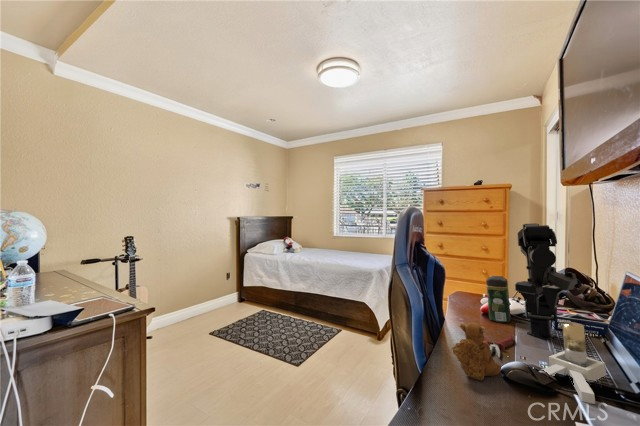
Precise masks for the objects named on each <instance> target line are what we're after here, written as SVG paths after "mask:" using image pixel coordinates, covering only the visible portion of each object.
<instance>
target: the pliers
mask: <svg viewBox="0 0 640 426" xmlns="http://www.w3.org/2000/svg"><path fill="white" fill-rule="evenodd" d="M484 341H487V342H488V344H489V346H490V350H491V355H493V353H494V352H495V354H496V356H497V357H498V358H499V359H500V358H501V351H502V352H505V350H506V349H505V348H507V347H510V346H513V344H514V341H515V340H514V339H513V335H511V334H510V333H508V334H507V338H504V339H502V340H499V341H496V342H493V341H492V340H490V339H488V338H487V337H485V336H484Z"/></svg>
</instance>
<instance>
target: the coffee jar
mask: <svg viewBox="0 0 640 426" xmlns="http://www.w3.org/2000/svg"><path fill="white" fill-rule="evenodd" d="M485 282H486V294H487V295H486V297H487V307H488V318H489V320H491V321H494V322H496V323H510V321H511V317H512V315H511V308H510V295H509V294H510V292H509V284H508V279H507V278H505V277H504V276H501V275H492V276H489V277H487V278H486V280H485Z"/></svg>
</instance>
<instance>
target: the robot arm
mask: <svg viewBox="0 0 640 426" xmlns="http://www.w3.org/2000/svg"><path fill="white" fill-rule="evenodd" d="M557 244H558V240H557V236H556V233H555V231H554V230H553V229H552V228H550V226H549V225H548V224H547V225H545V224H543V225H541V224H540V223H535V222H534V223H524V224H522V229H520V230H519V231H518V232H517V246H518V247H520V252H521V253H522V254H523V256H525V257H526V258H525V259H526V266H525V268H526V270H527V274H528V278H527V281H526V280H522V281H517V282H516V283H514V290H515V292H518V294H520V295H521V297H522V298H523V299H524V300H525V301H524V313H525V314H524V315H525V318H526V319H529V321H530V323H529V324H530V331H527V332H526V334H527V335H530V336H534V337H537V338H539V339H543V340H550V339H553V338H556V337H557V334H555V333H552V325H551V322H556V321H558V308H557V307H556V305H557V302H558V299H559V297H560V294H561V293H563V292H564V291H565V292H566V291H567V292H568V291H569V290H574V288H575V285H577V284H578V283H579V282H578V278H577V275H576V273H573V272H572V271H568V272H566V273H563V272H562V273H561V272H557V268H556V267H555V266H554V265H555V264H556V263H557V262H556V261H557V257H556V254H555V253H554V252H553V251H552V250H551V248H550V247H555V248H556V245H557Z"/></svg>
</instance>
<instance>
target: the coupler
mask: <svg viewBox="0 0 640 426" xmlns="http://www.w3.org/2000/svg"><path fill="white" fill-rule="evenodd" d="M561 324H562V335H563V336H562V337H563V348H564V351H565V360H566V361H567V362H570V363H573V364H575V365H578V366H581V367H584V368H586V367H588V366H587V357H588V356H587V346H586V335H585V326H584V324H582V323H578V322H574V321H562V323H561Z"/></svg>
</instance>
